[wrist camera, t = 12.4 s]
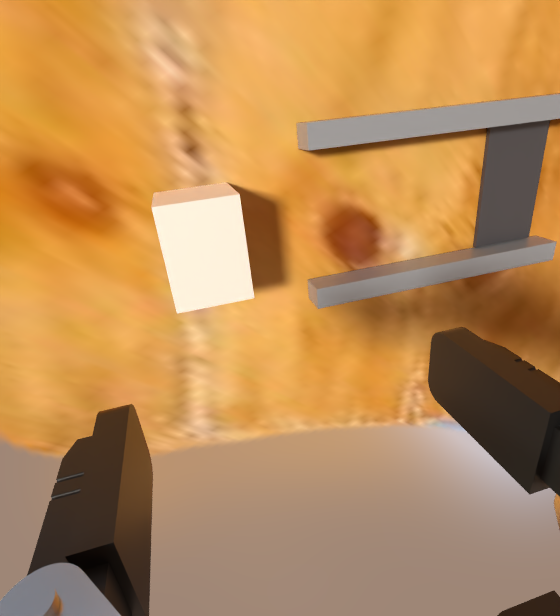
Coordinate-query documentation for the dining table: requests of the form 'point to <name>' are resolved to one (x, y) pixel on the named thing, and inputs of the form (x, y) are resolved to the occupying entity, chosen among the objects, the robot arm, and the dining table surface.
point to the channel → (492, 199)
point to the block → (203, 245)
